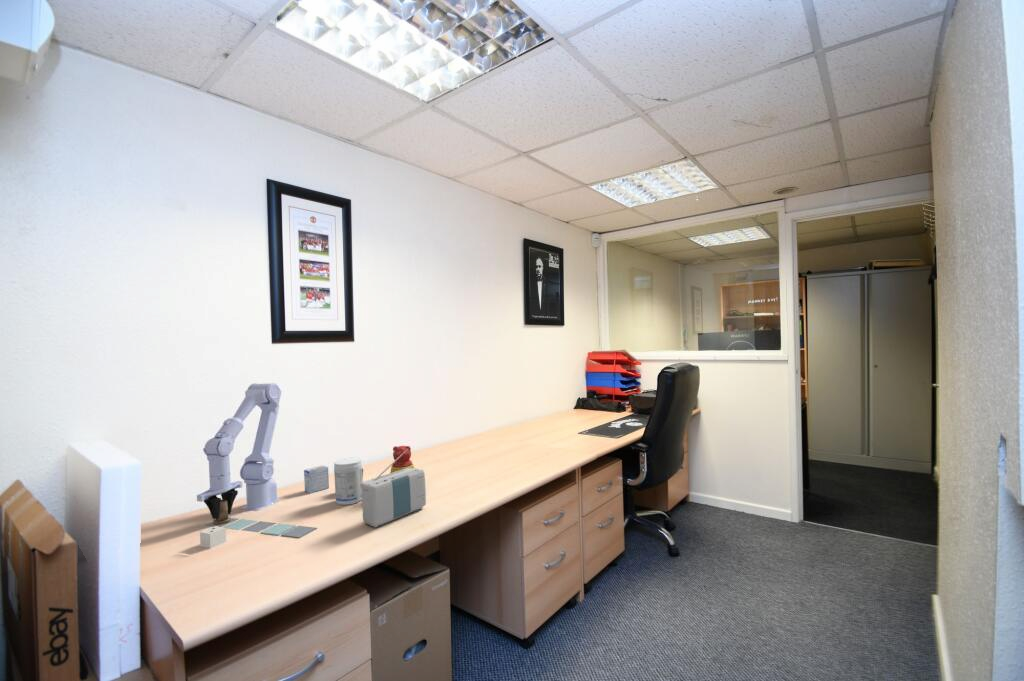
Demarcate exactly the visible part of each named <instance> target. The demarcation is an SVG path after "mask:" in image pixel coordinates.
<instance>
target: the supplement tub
mask: <svg viewBox="0 0 1024 681" xmlns="http://www.w3.org/2000/svg"><path fill="white" fill-rule="evenodd" d="M362 462H363V461H362V459H361V458H360V457H355V456H354V457H346V458H341V459H337V460H336V461H334V463H333V472H334V473H333V474H334V490H335V491H334V492H335V493H334V494H335V503H336V504H337V505H340V506H341V505H342V506H348V505H354V504H357V503H360V502H362V489H361V482H364V481H363V480H364V479H363V478H364V476H363V477H362V469H363V463H362Z"/></svg>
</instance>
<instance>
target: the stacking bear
mask: <svg viewBox="0 0 1024 681" xmlns="http://www.w3.org/2000/svg"><path fill="white" fill-rule="evenodd" d="M407 449H408V450H407ZM411 449H412V448H411V446H410V445H407V446H406V445H399V446H393V447H392V450H393V453H392V456H393V461H395V460H396V459H397V458H398V457H399V456H400V455H401V454H403V453H404V452H405V451H406V450H407V451H406V452H405V453H404V454H403V455H402V456H401V457H400V458H399V459H398V460H397V461H396V462H395V463H394V464H393V465H391V466H390V472H389V474H390V473H393V472H396V471H399V470H403V469H406V468H415V465H414V463H413V461H412V460H410V459H411V456H412V451H411Z"/></svg>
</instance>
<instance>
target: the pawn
mask: <svg viewBox="0 0 1024 681" xmlns="http://www.w3.org/2000/svg"><path fill="white" fill-rule="evenodd" d="M230 518H231V516H229V514H228V501H227V499H222V498H221V501H220V507H219V519H213V521H212V522H213V524H214V525H220V524H225V523H227V522H229V521H230V520H231V519H230Z"/></svg>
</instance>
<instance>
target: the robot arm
mask: <svg viewBox="0 0 1024 681" xmlns="http://www.w3.org/2000/svg"><path fill="white" fill-rule="evenodd" d="M244 396H245V397H244V398H243V400H242V402H241V403H240V405H239V406H238V408H237V410H236V411H235V413H234V415H233V416H232V417H231V418H227V419H226V420H224V421H223V423H222V425H221V427H220V428H219V430H218V431H217V432H216V434H215V435H214V437H212V438H210V439H208V440H207V441H206V443H205V445H204V448H203V451H202V452H203V453H204V454H205V455H206V460H207V461H208V473H209V474H208V475H209V489H207V490H206V491H204V492H201V493H199V494H196V501H197V502H200V503H201V502H204V504H205V506H207V508H208V510H209V512H210V515H211V518H212V520H215V519H219V507H220V501H221V500H222V499H227V501H228V515H231V514H232V508H233V504H234V502H235V500H236V498H237V495H238V493H239V491H238V490H237V489H240V488H243V483H244V484H245V491H246V492H245V494H246V505H244V506H242V507H240V510H248V511H255V512H256V511H257V512H258V511H261V510H262V509H265V508H267V507H270V506H272V505H274V504H277V503H279V502H280V500H278V490H277V489H278V488H277V482H276V481H275V479H274V478H273V475H274V473H275V472H274V471H275V470H274V462H275V460H274V459H273V458H272V457H271V455H270V452H271V451H270V450H271V445H272V441H273V436H274V432H275V428H276V423H277V418H278V414H279V409H280V401H281V400H280V399H281V396H282V389H281V388H280V386H279V385H278V384H277V383H275V382H271V383H252V384H250V385H248V388H247V389H246V390H245V391H244ZM256 406H257V407H259V408H260V410H261V412H260V418H259V420H258V421H259V422H258V425H257V426H258V427H257V430H256V434H255V438H254V443H253V448H252V452H251V454H249V455H248V456H246V458H245V459H244V462H243V464H242V466H241V467H240V470H239V476H240V478H241V479H242V480H243V481H244V482H243V481H241V480H237V481H234V482H231V465H230V462H231V461H230V454H231V453H232V452H233V450H234V444H235V441H236V439H237V437H238V435H239V434H240V433H241V431H242V430H243V428H244V421H245V420H246V419H247V417H249V415H250V413H251V412H252V411H253V410H254V409H255V408H256ZM219 495H220V496H221V497H218V496H219Z"/></svg>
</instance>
